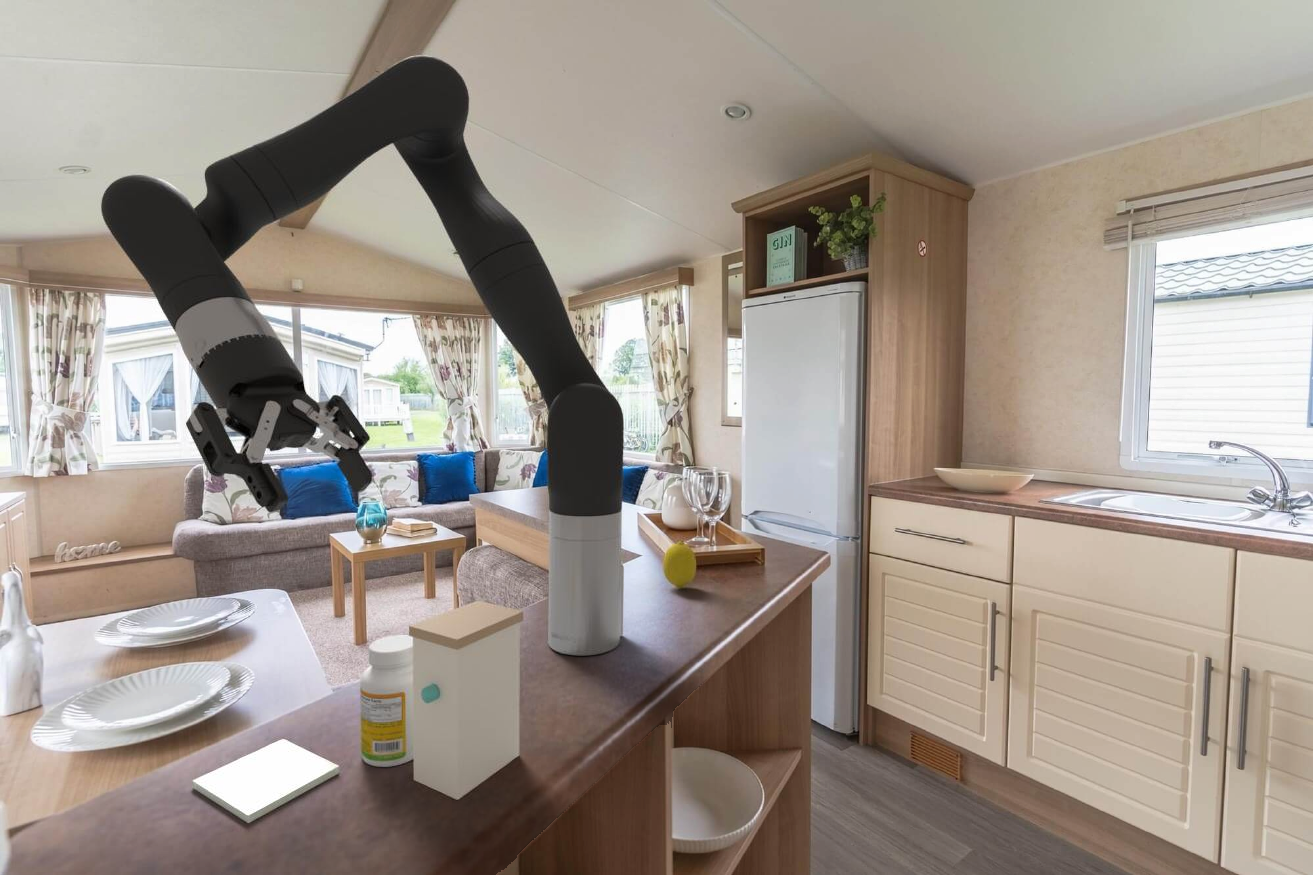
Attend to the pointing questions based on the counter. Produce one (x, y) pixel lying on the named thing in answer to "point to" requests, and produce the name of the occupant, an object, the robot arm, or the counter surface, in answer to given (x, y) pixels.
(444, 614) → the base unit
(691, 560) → the lemon
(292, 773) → the plate
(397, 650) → the supplement bottle
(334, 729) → the counter surface
